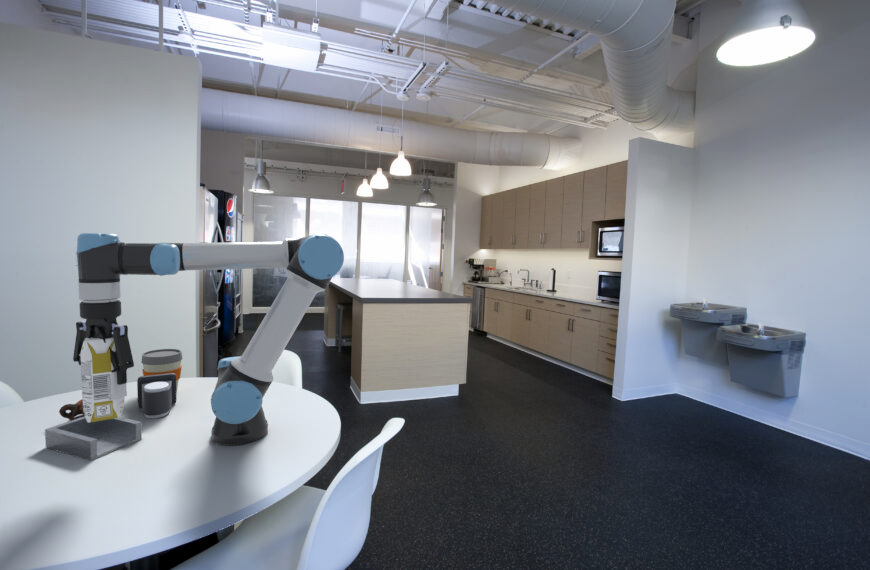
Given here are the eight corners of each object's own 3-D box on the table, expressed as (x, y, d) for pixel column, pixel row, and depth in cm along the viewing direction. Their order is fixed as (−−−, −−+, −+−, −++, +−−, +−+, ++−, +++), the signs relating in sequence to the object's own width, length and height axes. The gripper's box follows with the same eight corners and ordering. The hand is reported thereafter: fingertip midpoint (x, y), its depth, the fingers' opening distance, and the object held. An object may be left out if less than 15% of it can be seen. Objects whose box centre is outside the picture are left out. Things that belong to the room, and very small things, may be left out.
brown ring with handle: (97, 411, 136) (109, 391, 135) (105, 431, 131) (117, 410, 130) (50, 413, 126) (62, 391, 125) (57, 435, 121) (70, 413, 120)
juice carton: (82, 425, 93) (78, 342, 91) (86, 412, 100) (82, 334, 98) (124, 418, 98) (121, 338, 96) (125, 406, 104) (122, 331, 103)
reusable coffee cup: (179, 385, 162) (179, 347, 161) (185, 394, 152) (185, 354, 151) (140, 391, 154) (139, 351, 153) (143, 401, 144) (143, 359, 143)
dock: (141, 439, 117) (141, 422, 117) (90, 460, 105) (90, 441, 105) (98, 428, 123) (98, 411, 122) (45, 447, 111) (45, 429, 110)
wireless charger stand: (135, 423, 128) (134, 390, 127) (138, 406, 139) (137, 375, 138) (177, 417, 134) (176, 385, 133) (176, 401, 145) (176, 371, 144)
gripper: (151, 301, 96) (153, 395, 98) (86, 295, 103) (89, 383, 105) (117, 305, 89) (121, 407, 91) (49, 298, 96) (54, 392, 98)
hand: (104, 394), depth 98 cm, fingers closed on juice carton, 9 cm apart
